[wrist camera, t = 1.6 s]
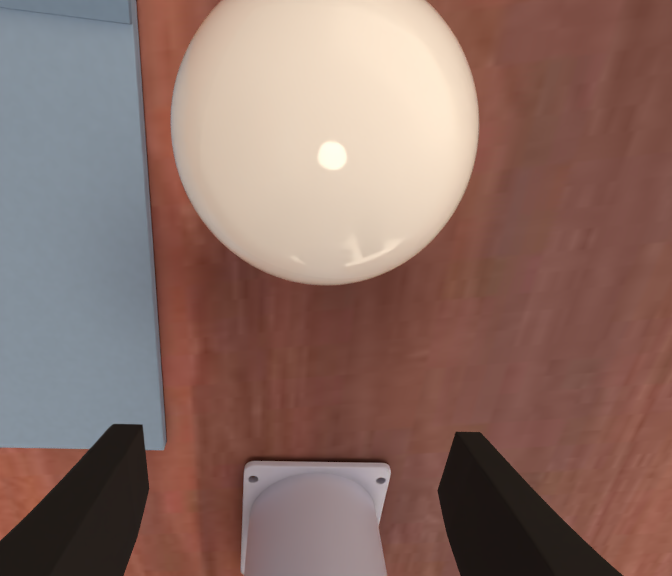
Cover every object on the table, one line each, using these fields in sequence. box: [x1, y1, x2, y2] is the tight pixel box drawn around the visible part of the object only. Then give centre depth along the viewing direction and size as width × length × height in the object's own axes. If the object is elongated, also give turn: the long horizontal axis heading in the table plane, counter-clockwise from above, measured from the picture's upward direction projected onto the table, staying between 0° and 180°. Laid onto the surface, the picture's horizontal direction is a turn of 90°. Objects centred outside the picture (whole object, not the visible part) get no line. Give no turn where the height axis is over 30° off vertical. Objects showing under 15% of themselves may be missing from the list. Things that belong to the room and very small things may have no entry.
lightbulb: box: [171, 0, 479, 286], centre depth 12 cm, size 6×6×11 cm
